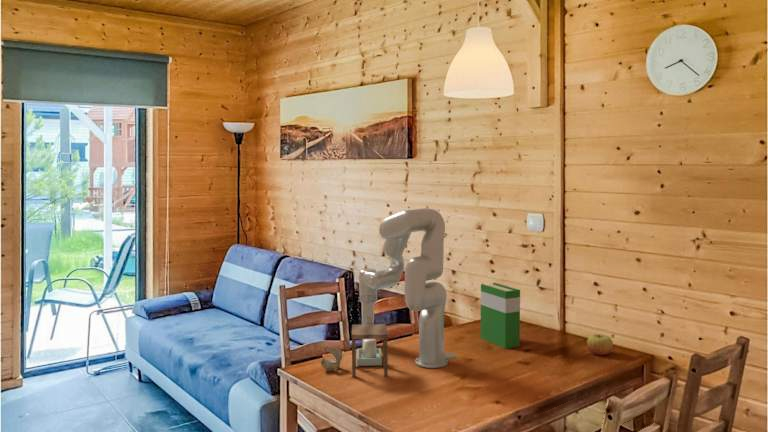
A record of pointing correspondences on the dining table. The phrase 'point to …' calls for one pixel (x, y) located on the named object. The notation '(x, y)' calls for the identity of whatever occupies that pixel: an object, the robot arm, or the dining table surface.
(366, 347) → the pale upright block
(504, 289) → the hardback book
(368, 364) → the grey armchair
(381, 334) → the small wooden stool
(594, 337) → the apple
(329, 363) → the grey curved piece
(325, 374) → the dining table surface
